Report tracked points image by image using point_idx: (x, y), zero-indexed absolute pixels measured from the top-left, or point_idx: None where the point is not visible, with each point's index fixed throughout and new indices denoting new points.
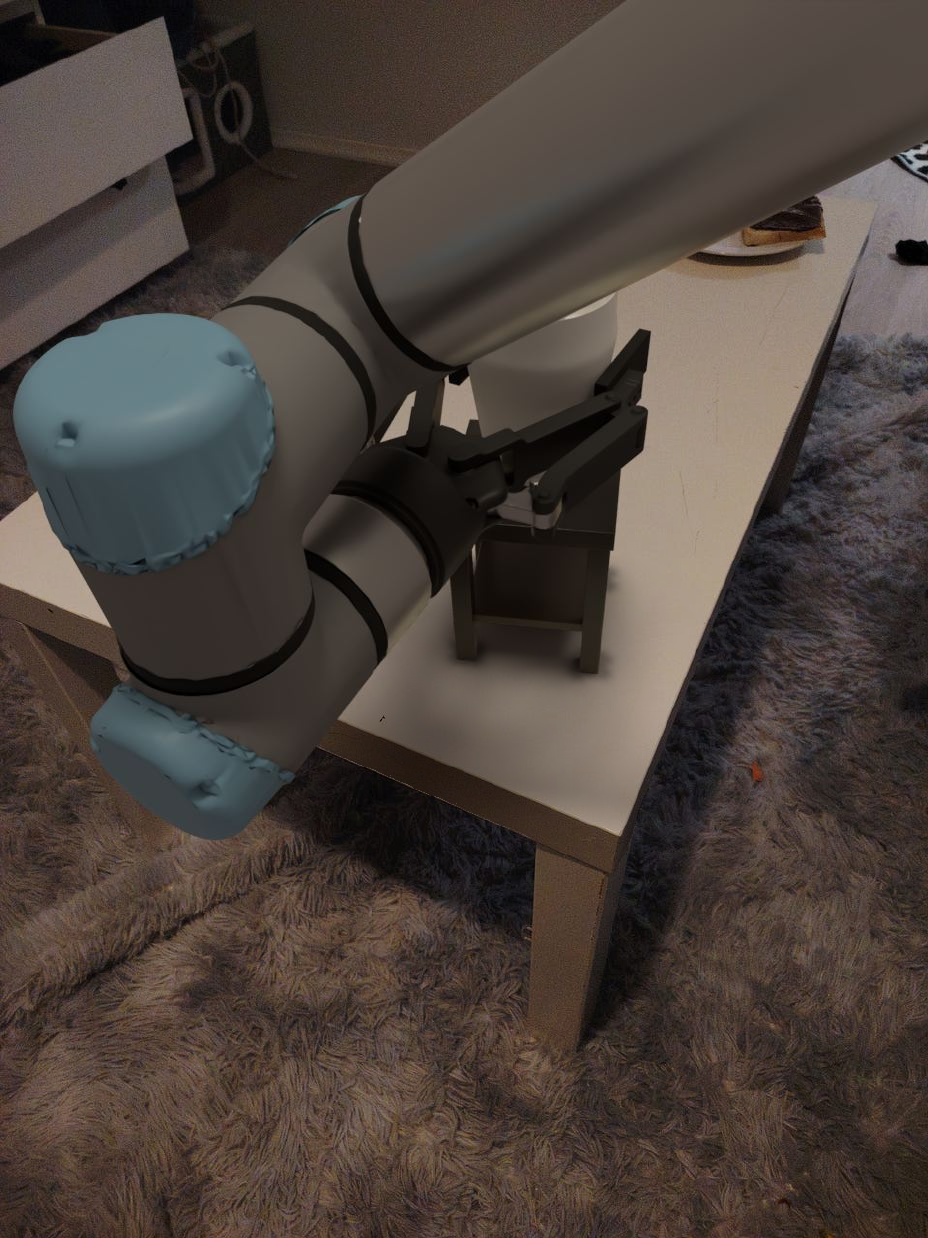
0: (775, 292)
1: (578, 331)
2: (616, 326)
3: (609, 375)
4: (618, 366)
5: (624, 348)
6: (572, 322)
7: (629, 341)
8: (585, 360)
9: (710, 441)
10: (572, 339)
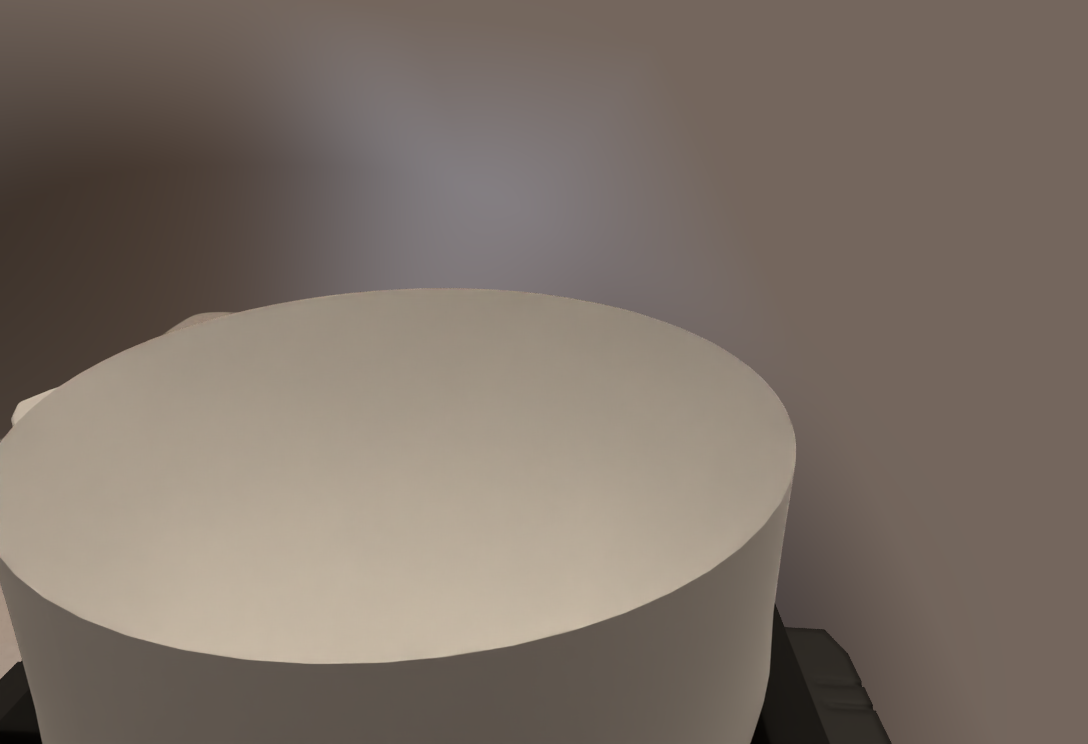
0: None
1: (760, 595)
2: (729, 500)
3: (792, 705)
4: (775, 643)
5: None
6: (749, 560)
7: None
8: (759, 708)
9: None
10: (738, 648)
